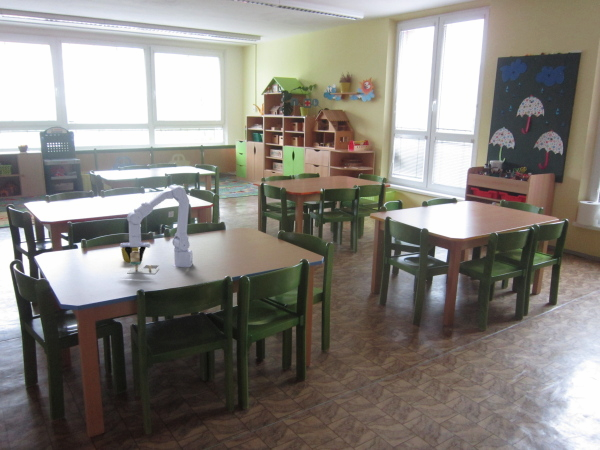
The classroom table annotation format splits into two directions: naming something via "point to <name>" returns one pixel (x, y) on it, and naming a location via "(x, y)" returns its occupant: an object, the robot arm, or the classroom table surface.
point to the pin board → (142, 270)
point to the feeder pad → (151, 266)
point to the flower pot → (125, 255)
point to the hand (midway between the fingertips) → (136, 260)
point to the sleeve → (135, 258)
